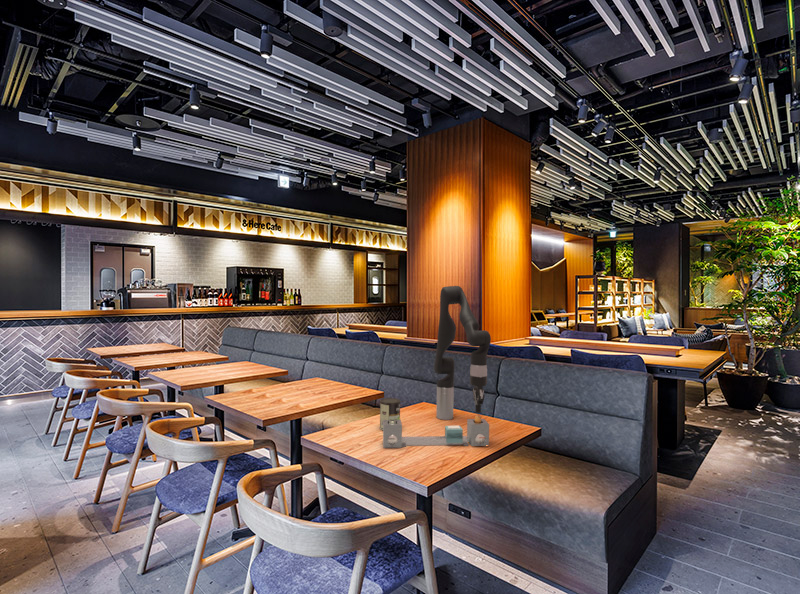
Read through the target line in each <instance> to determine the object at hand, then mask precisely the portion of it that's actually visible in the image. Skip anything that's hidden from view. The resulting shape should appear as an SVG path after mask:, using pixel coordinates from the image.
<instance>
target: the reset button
mask: <svg viewBox="0 0 800 594" xmlns="http://www.w3.org/2000/svg"><path fill="white" fill-rule="evenodd" d="M474 419H475V423H481V419H482V416H481V415H480V414H477V415H474Z"/></svg>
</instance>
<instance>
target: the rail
mask: <svg viewBox="0 0 800 594" xmlns="http://www.w3.org/2000/svg"><path fill="white" fill-rule="evenodd" d="M407 446H409V447H412V446H415V447H417V446H419V447H420V446H463V447H469V443H468V438H467V435H463V443H447V438H446V436H445V435H441V436H440V435H438V436H436V435H435V436H426V435H424V436H402V448H406V447H407Z"/></svg>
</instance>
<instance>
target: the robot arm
mask: <svg viewBox="0 0 800 594" xmlns="http://www.w3.org/2000/svg"><path fill="white" fill-rule="evenodd" d="M467 299H468V298H467V297H466V294H465V291H464V289H463V287H461V286H460V285H450V286H443V287H442V288H441V290H440V295H439V311H440V312H439V320H438V321H439V323H438V329H437V330H438V331H437V343H436V351H435V357H434V362H433V364H434V365H433V369H434V373H435V374H437V375H446V376H445V377H443V378H440V379H438V380H437V381H436V410H435V411H436V415H435V416H436V418H437V419H439V420H444V421H449V420H452V419H454V399H455V398H454V397H455V395H454V391H455V390H454V389H455V387H454V386H455V385H454V382H455V366H456V364H455V359H454V358H453V357H452V356H444V354H445V352H446V351H447V350H448V348H449V347H450V346H451V345H452V344H453V342H454V341H455V340H456V339H455V338H456V333H457V325H456V323H455V321H454V319H453V318H452V316H451V314H450V311H449V307H450V305H457V304H458V305H459V306H460V311H459V315H458V316H459V317H458V318H459V321H460V324H461V325H462V327H463V329H464V331H465V335H466V341H467V343H468V344H469V345H470V346H471V347H478V349H477V350H474V351H472V352H471V353H470V368H469V369H470V370H469V384H470V385H471V386H473V389H472V391H471V392H472V396H473V402H474V405H475V408H474V409H475V410H474V411H475V413H476V414H480V413H481V412H482V405H483V404H484V400H485V394H484V392H485V391H484V388H483V387H485V386H487V385H488V365H487V361H488V360H487V357H488V352H489V348H490V345H491V341H492V339H491V338H492V337H491V334H490V332H489V331H487V330H479V329H480V324H479V322H478V320H477V319H476V317H475V315H474V313H473V312H472V309H471V307H470V304H469V301H468V300H467Z"/></svg>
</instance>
